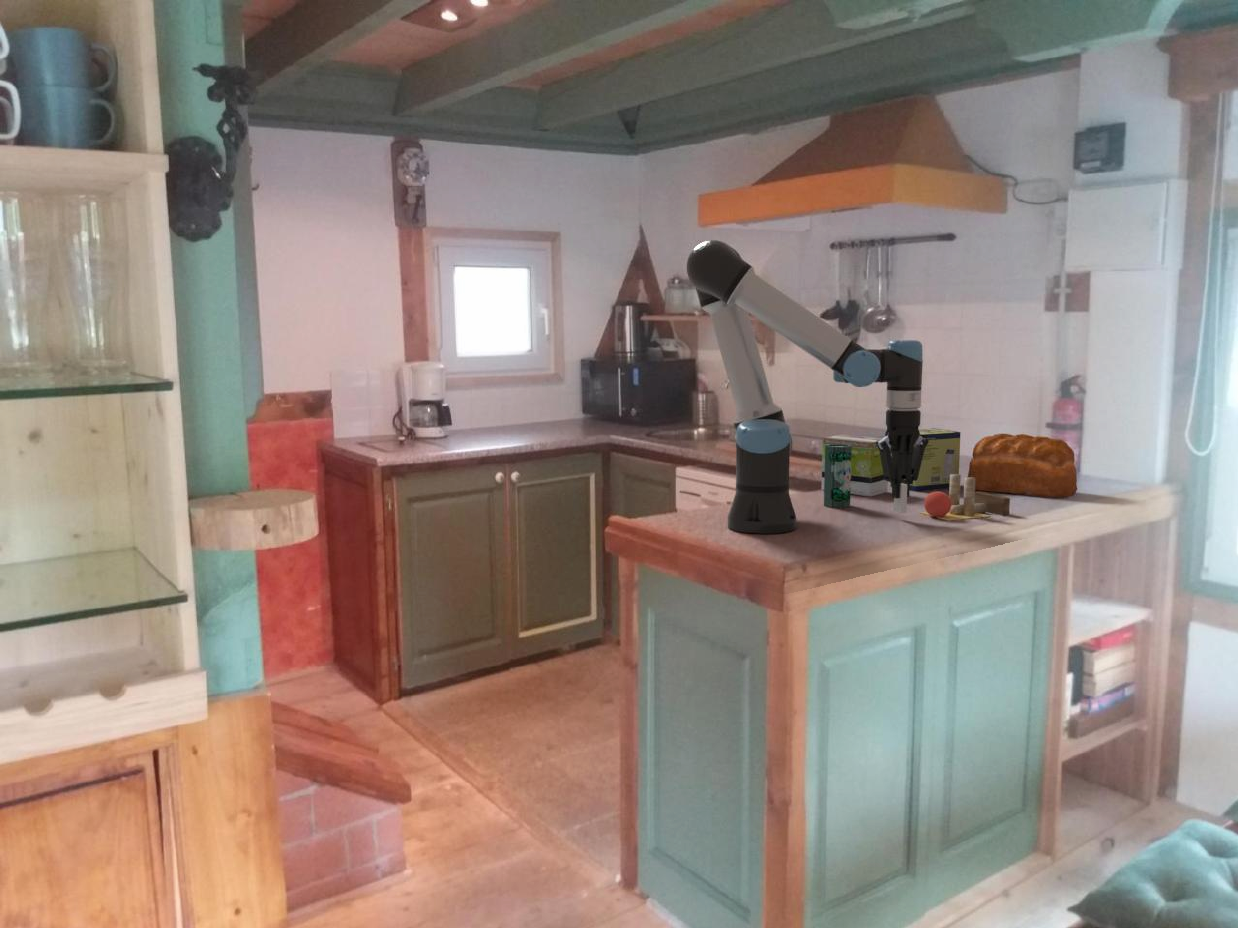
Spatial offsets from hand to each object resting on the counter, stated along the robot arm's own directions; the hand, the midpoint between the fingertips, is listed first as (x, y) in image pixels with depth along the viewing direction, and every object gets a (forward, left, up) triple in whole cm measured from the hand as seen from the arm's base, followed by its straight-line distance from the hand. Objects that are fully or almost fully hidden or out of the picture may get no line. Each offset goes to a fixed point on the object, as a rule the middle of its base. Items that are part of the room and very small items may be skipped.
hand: (900, 511), depth 222 cm
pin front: (+15, 0, -1) cm, 15 cm away
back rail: (+26, 0, -2) cm, 26 cm away
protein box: (+35, +36, -2) cm, 50 cm away
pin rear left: (+17, +2, -2) cm, 18 cm away
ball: (+10, 0, +1) cm, 10 cm away
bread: (+54, +20, -2) cm, 57 cm away
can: (-3, +21, -2) cm, 21 cm away
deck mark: (+15, 0, -2) cm, 16 cm away
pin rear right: (+17, -2, -2) cm, 18 cm away
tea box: (+13, +37, -2) cm, 39 cm away
